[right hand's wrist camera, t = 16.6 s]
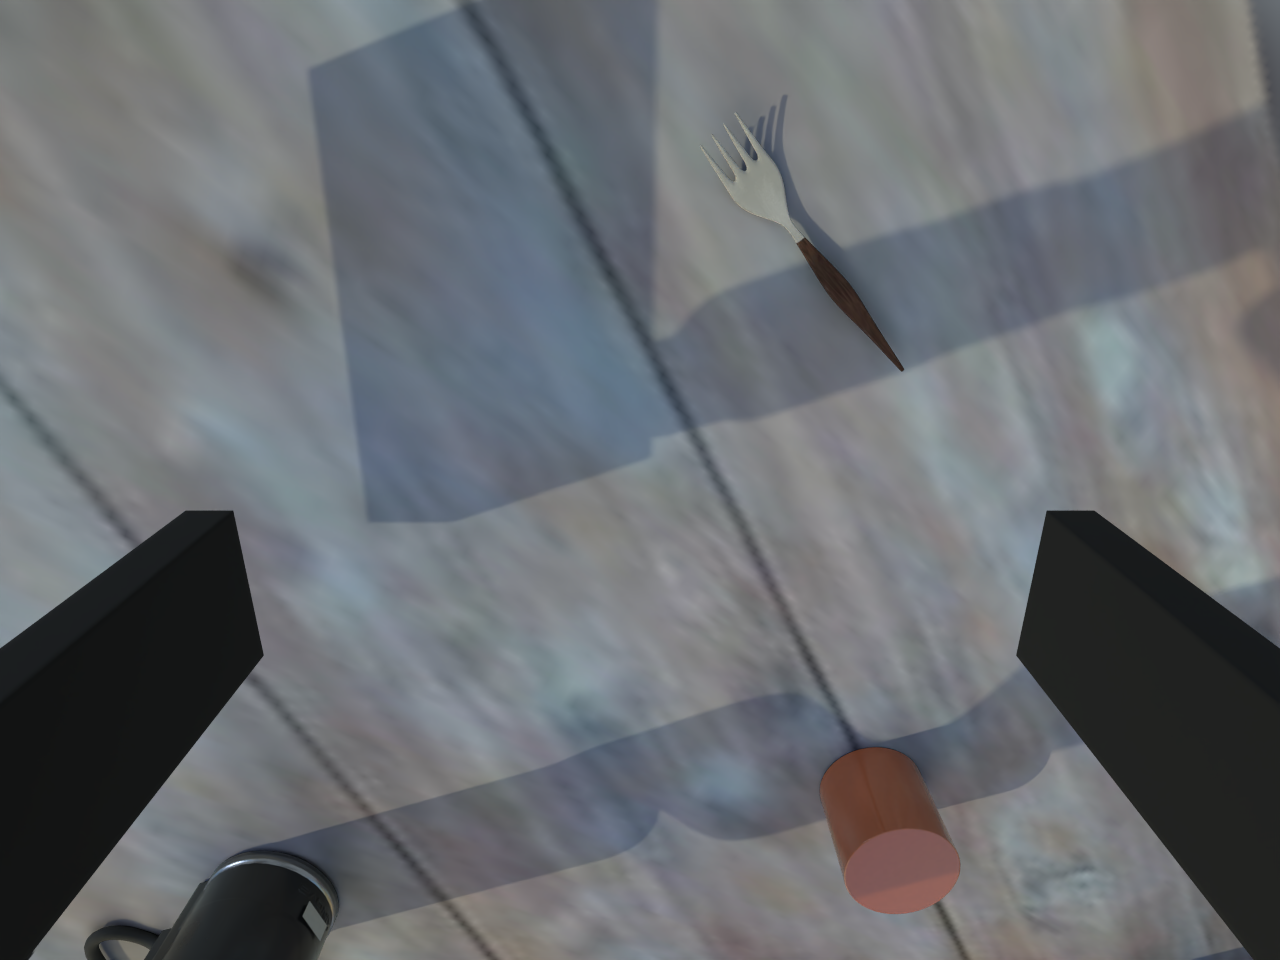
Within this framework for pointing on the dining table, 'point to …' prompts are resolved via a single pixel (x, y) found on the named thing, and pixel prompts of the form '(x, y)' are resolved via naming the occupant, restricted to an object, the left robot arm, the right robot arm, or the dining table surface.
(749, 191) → the fork
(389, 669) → the dining table surface
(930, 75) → the dining table surface
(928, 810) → the orange clay cylinder
